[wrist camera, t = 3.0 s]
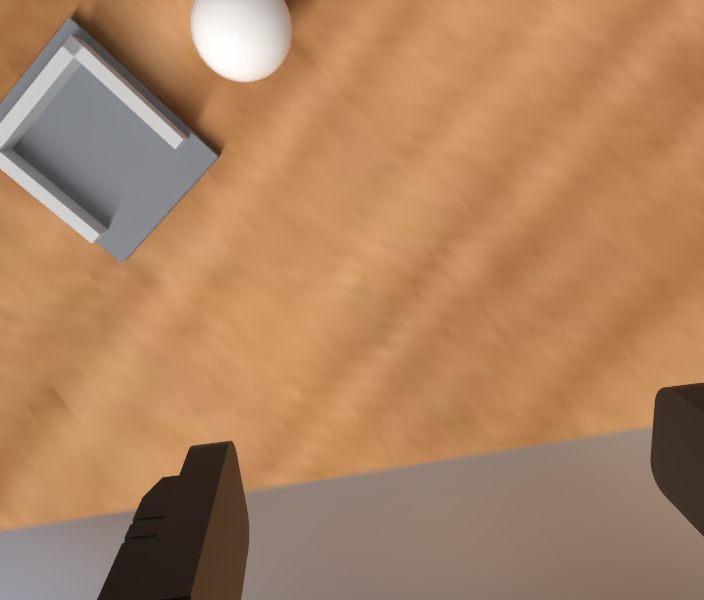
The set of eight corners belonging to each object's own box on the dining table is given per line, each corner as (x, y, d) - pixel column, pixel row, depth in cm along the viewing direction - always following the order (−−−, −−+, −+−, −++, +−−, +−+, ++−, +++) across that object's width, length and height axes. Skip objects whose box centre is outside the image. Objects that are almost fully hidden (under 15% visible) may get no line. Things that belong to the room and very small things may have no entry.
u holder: (-21, 139, 44) (-44, 140, 41) (74, 19, 42) (57, 12, 39) (125, 260, 47) (113, 269, 44) (219, 156, 45) (213, 158, 42)
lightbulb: (204, 1, 42) (169, -38, 31) (289, -7, 42) (282, -48, 32) (219, 92, 44) (190, 83, 33) (300, 84, 44) (297, 73, 34)
